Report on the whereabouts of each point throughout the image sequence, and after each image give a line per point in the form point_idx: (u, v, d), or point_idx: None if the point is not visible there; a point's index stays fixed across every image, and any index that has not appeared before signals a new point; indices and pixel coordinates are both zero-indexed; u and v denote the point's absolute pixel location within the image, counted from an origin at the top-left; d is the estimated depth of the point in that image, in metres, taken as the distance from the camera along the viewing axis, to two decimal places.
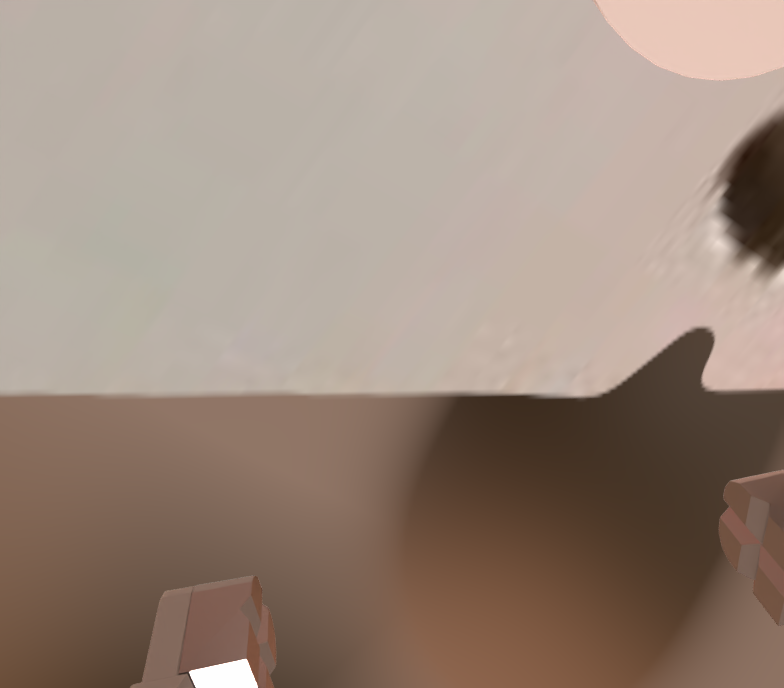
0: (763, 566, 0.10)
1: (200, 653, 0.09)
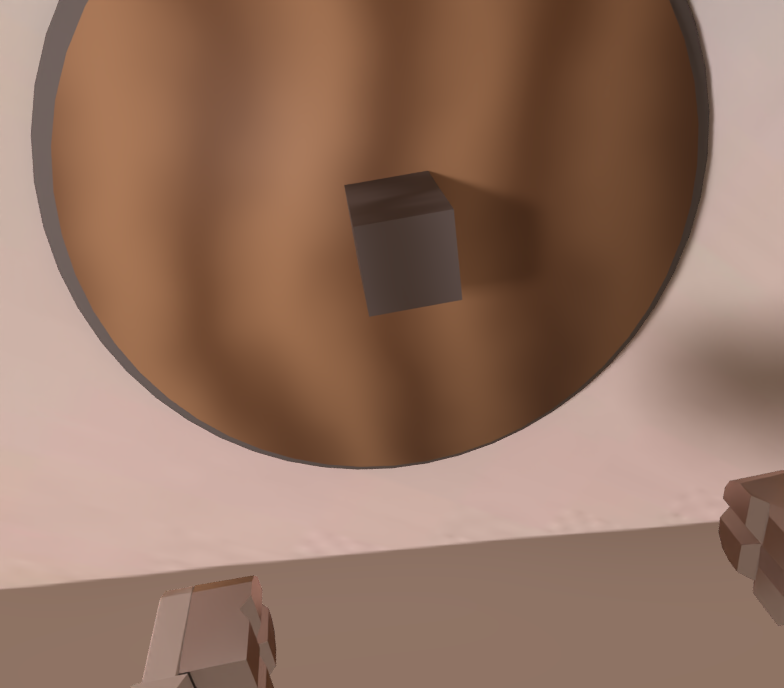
0: (763, 566, 0.10)
1: (200, 653, 0.09)
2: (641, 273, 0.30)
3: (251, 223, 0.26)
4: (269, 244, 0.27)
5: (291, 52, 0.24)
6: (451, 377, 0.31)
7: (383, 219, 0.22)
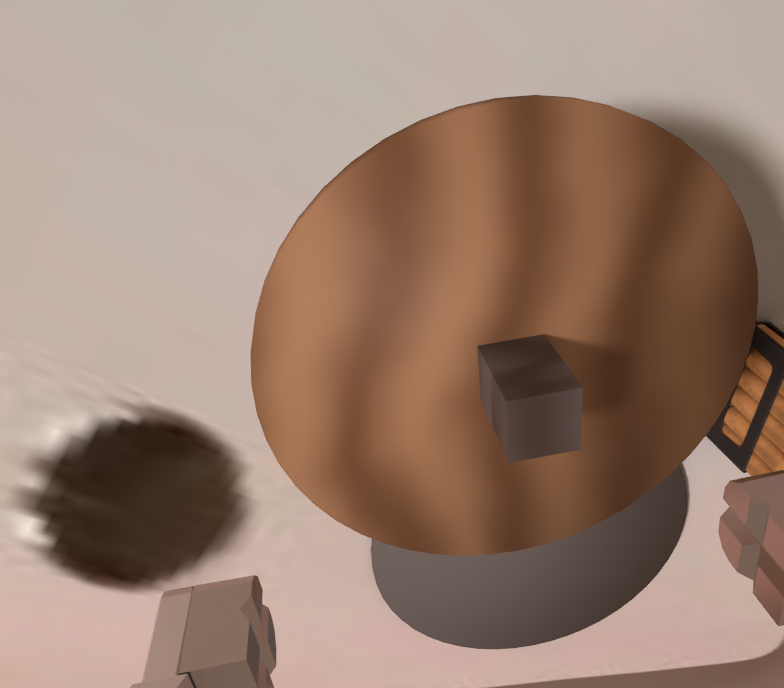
0: (763, 566, 0.10)
1: (199, 654, 0.09)
2: (705, 405, 0.36)
3: (401, 374, 0.33)
4: (412, 389, 0.33)
5: (449, 253, 0.30)
6: (545, 485, 0.38)
7: (528, 395, 0.28)
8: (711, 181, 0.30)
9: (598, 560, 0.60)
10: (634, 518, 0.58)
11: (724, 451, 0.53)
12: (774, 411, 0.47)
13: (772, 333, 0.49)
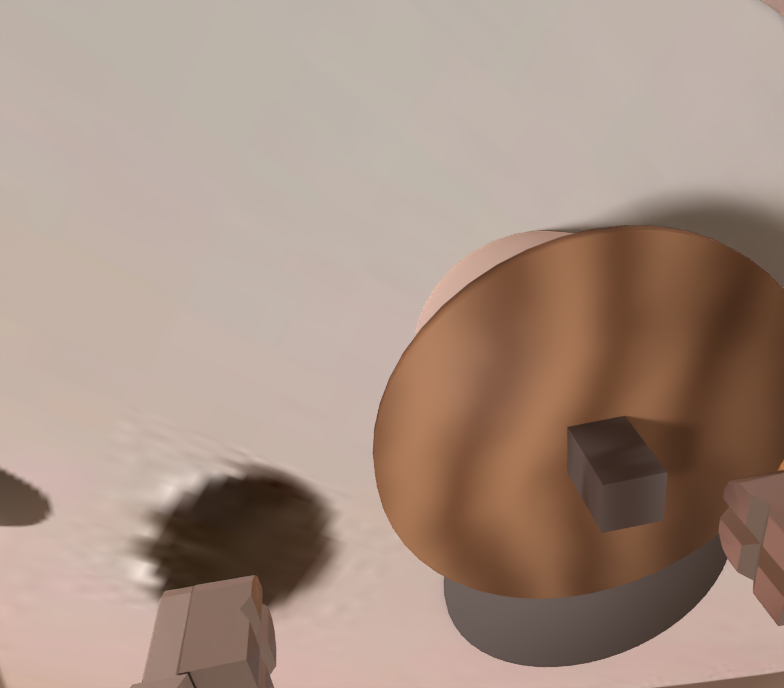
0: (763, 566, 0.10)
1: (200, 653, 0.09)
2: (760, 469, 0.41)
3: (501, 451, 0.38)
4: (510, 463, 0.38)
5: (548, 354, 0.35)
6: (618, 538, 0.43)
7: (621, 478, 0.33)
8: (773, 289, 0.35)
9: (650, 586, 0.65)
10: None
11: None
12: None
13: None
